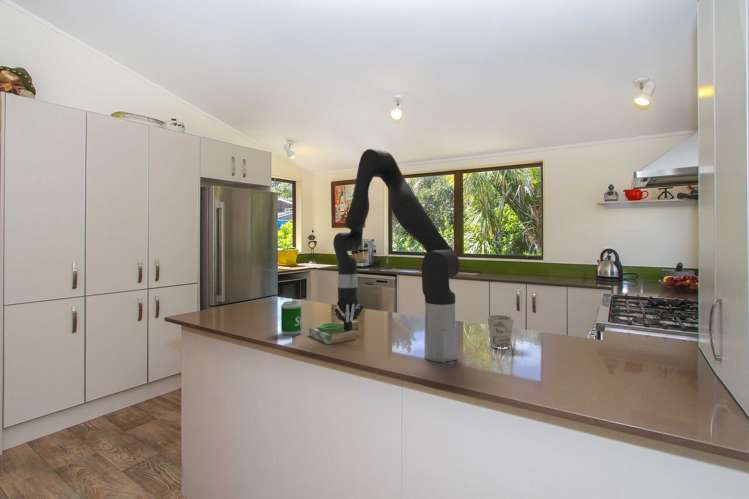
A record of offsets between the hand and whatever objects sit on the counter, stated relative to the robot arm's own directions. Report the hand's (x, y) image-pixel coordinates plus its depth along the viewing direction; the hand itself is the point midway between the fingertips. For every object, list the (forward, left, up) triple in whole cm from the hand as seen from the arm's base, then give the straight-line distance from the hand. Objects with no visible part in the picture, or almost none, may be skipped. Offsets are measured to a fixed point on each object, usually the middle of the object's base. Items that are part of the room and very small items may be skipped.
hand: (348, 331), depth 152 cm
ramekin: (0, +7, -1) cm, 7 cm away
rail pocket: (0, +2, -1) cm, 3 cm away
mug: (-42, -36, -2) cm, 55 cm away
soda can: (+13, +17, -2) cm, 22 cm away
